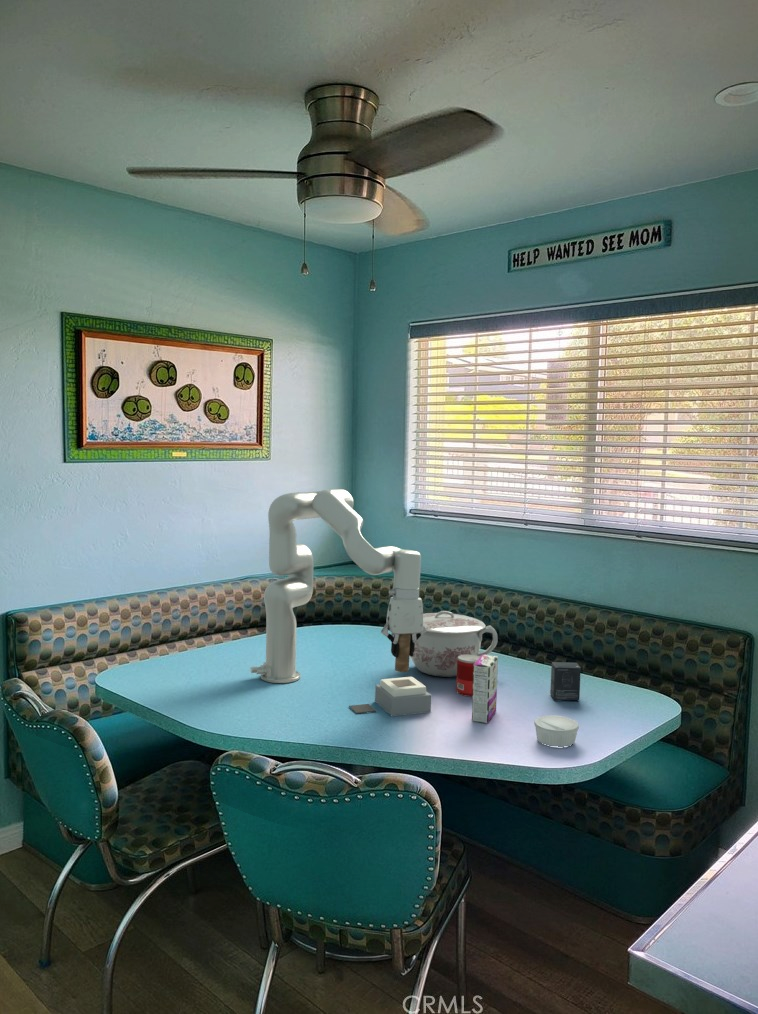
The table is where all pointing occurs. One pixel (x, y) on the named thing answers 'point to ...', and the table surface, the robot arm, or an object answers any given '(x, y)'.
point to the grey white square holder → (403, 696)
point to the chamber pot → (449, 642)
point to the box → (565, 681)
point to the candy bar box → (484, 688)
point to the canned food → (465, 674)
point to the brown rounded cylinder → (403, 653)
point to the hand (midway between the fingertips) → (402, 655)
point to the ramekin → (556, 730)
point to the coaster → (362, 708)
